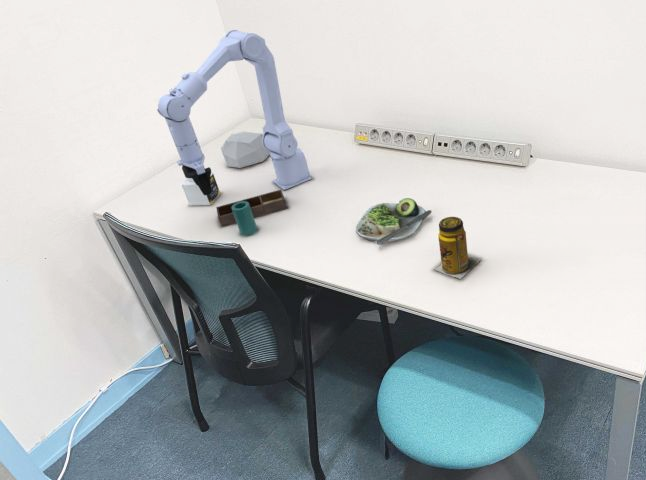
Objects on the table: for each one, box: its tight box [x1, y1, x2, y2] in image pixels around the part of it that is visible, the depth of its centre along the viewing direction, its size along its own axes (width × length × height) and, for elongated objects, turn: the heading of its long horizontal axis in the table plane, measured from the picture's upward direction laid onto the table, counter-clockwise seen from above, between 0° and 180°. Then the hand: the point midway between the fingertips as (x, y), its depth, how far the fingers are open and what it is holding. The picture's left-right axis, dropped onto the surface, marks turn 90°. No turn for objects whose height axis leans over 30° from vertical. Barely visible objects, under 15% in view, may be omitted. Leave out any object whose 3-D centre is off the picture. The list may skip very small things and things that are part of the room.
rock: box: [220, 131, 270, 169], centre depth 199 cm, size 18×20×10 cm
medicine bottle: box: [181, 164, 221, 207], centre depth 178 cm, size 7×7×12 cm
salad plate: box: [355, 197, 432, 246], centre depth 153 cm, size 19×18×5 cm
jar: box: [232, 201, 258, 237], centre depth 161 cm, size 5×5×8 cm
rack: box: [215, 189, 288, 228], centre depth 171 cm, size 19×7×3 cm, turn 108°
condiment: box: [433, 216, 482, 280], centre depth 135 cm, size 7×8×12 cm
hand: (204, 188), depth 165 cm, fingers open, 7 cm apart
